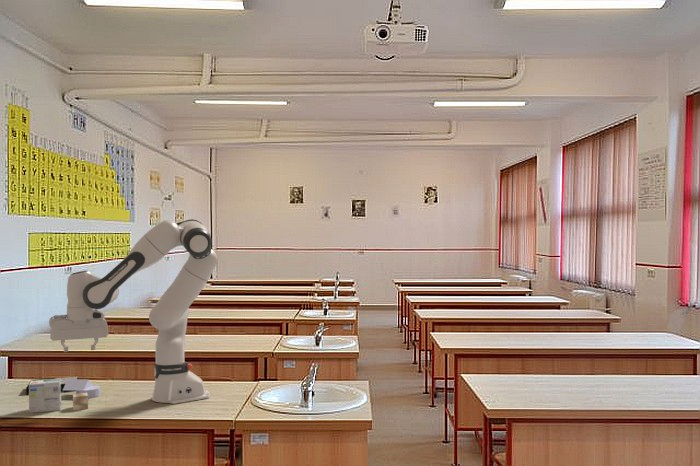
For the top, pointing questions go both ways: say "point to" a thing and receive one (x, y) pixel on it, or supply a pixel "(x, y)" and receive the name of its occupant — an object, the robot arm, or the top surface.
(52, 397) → the light bulb box
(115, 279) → the robot arm
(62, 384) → the multimeter
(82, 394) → the ash cube
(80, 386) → the wedge on round base
